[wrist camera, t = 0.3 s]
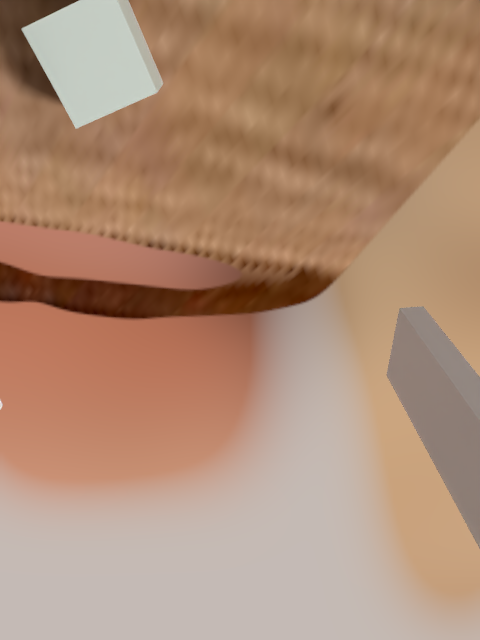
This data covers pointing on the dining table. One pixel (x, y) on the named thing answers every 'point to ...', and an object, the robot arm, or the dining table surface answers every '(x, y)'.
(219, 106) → the dining table surface
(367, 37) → the dining table surface
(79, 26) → the grey-green block
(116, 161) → the dining table surface
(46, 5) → the dining table surface
